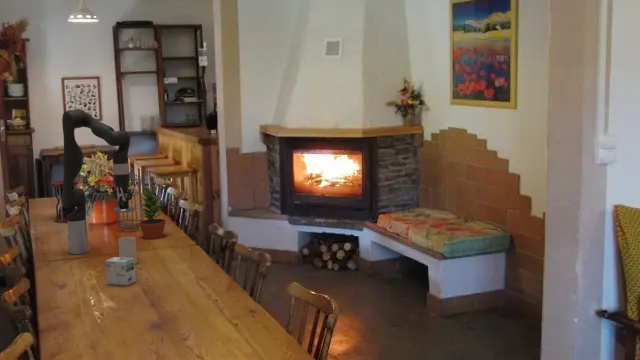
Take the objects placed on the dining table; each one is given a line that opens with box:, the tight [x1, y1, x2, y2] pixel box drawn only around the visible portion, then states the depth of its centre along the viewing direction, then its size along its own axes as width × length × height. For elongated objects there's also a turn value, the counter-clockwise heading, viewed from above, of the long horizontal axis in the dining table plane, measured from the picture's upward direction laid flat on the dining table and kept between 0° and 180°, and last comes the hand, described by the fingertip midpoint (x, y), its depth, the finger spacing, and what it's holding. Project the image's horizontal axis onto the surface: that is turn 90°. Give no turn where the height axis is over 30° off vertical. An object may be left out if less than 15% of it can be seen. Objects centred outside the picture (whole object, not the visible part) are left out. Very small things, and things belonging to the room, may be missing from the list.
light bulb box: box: [104, 256, 137, 286], centre depth 312 cm, size 11×7×11 cm, turn 71°
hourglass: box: [51, 179, 79, 224], centre depth 454 cm, size 16×16×25 cm
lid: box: [112, 200, 135, 214], centre depth 342 cm, size 10×10×5 cm
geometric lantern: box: [111, 171, 146, 233], centre depth 418 cm, size 16×16×35 cm
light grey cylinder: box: [117, 236, 138, 265], centre depth 345 cm, size 8×8×12 cm
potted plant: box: [138, 186, 167, 240], centre depth 398 cm, size 15×15×30 cm
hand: (124, 208), depth 342 cm, fingers closed on lid, 3 cm apart
